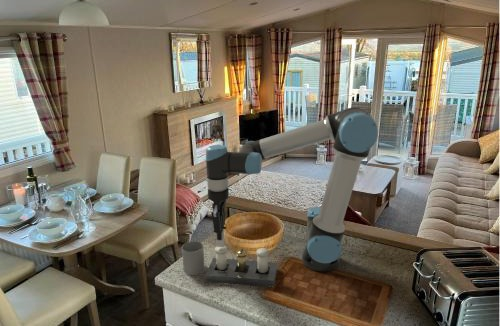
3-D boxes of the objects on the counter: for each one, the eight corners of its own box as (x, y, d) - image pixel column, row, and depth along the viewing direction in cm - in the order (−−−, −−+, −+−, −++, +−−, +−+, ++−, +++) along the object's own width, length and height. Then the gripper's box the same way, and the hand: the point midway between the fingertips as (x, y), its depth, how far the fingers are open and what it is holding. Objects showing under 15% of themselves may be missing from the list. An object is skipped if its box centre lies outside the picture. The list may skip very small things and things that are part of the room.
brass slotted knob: (248, 265, 144) (247, 248, 142) (246, 271, 140) (245, 254, 138) (238, 264, 145) (237, 247, 142) (235, 270, 141) (235, 253, 139)
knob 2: (269, 266, 143) (269, 248, 141) (268, 273, 139) (267, 254, 136) (257, 266, 144) (257, 247, 141) (255, 272, 139) (255, 254, 137)
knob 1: (228, 263, 146) (228, 245, 143) (226, 270, 141) (225, 251, 139) (217, 262, 146) (216, 244, 144) (214, 269, 142) (213, 251, 140)
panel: (277, 269, 147) (277, 262, 146) (274, 287, 136) (274, 280, 135) (213, 264, 151) (213, 257, 150) (205, 282, 140) (205, 275, 139)
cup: (200, 275, 144) (198, 253, 141) (180, 273, 145) (178, 251, 142) (207, 263, 152) (205, 242, 149) (188, 262, 153) (186, 240, 150)
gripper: (212, 181, 141) (215, 237, 148) (202, 194, 128) (206, 254, 136) (231, 182, 140) (233, 238, 147) (224, 195, 127) (226, 255, 134)
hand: (220, 245), depth 141 cm, fingers closed
